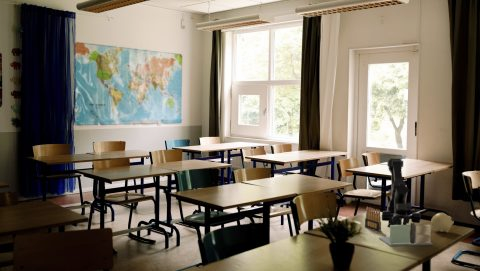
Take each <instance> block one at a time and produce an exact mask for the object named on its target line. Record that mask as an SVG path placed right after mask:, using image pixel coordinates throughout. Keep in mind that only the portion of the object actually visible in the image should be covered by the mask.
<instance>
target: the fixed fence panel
mask: <svg viewBox="0 0 480 271" xmlns="http://www.w3.org/2000/svg"><path fill="white" fill-rule="evenodd" d="M409 225H410V243H411V244H415V243H430V242H431V240H432V239H431V238H432V235H431V234H432V224H416V223H413V222H411V223H410V224H409Z"/></svg>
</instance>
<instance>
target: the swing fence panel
mask: <svg viewBox="0 0 480 271" xmlns="http://www.w3.org/2000/svg"><path fill="white" fill-rule="evenodd" d="M410 225H411V224H406V225H403V224H402V225H390V227H389V237H390V244H396V243H410Z"/></svg>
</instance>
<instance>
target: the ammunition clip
mask: <svg viewBox="0 0 480 271" xmlns="http://www.w3.org/2000/svg"><path fill="white" fill-rule="evenodd" d="M365 210H366V211H365V212H366V213H365V218H364V228H367V229H370V230H373V231H377V232H382V222H381V221H382V216H381V210H380V209H377V208H376V209H375V207H371V206H369V207H368V206H366V209H365Z"/></svg>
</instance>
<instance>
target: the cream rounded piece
mask: <svg viewBox="0 0 480 271" xmlns="http://www.w3.org/2000/svg"><path fill="white" fill-rule="evenodd" d="M430 220H431V221H430V222H431V223H430V225H431V230H435V231H438V232H445V233H449V230H450V229H451V228H452V225H454V222H455V218H454V217H451V216H450V215H448V214H446V213H444V212H438V213H436V214H434V215H433V216H432V218H431V219H430Z"/></svg>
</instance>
